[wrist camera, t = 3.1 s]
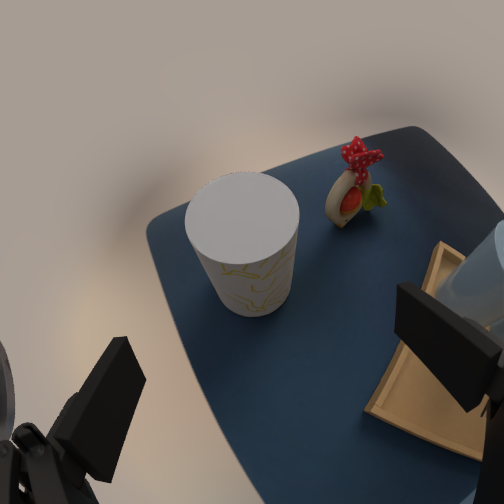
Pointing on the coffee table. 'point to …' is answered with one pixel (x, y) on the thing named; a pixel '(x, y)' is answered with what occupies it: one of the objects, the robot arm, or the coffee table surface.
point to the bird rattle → (354, 185)
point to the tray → (428, 387)
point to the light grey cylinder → (246, 239)
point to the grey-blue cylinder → (498, 329)
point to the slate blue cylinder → (478, 282)
